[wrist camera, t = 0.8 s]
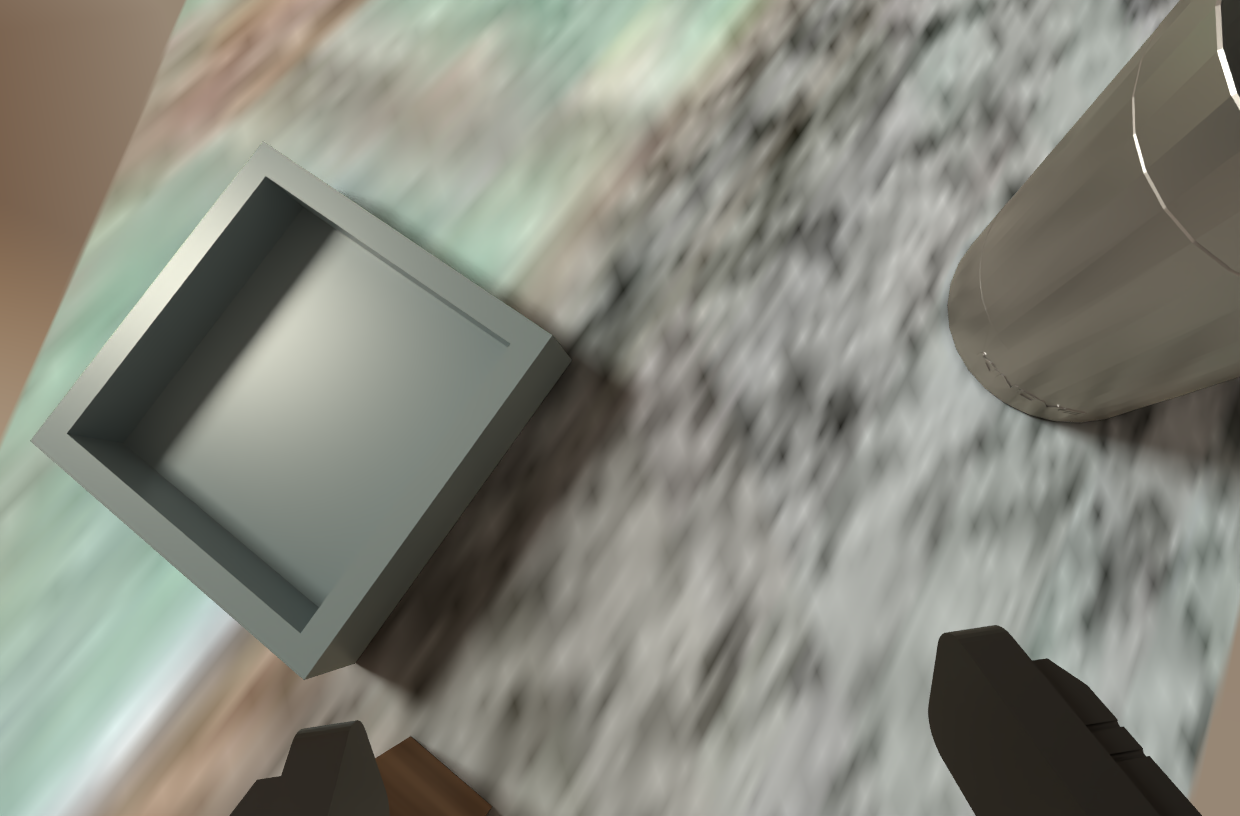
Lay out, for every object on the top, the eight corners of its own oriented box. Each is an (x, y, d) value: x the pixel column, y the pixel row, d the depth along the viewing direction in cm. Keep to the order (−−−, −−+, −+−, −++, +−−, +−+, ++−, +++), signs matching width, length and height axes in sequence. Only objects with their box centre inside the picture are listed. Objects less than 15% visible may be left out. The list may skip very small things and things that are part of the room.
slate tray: (312, 184, 36) (263, 141, 32) (572, 360, 33) (552, 335, 29) (106, 452, 35) (29, 440, 31) (354, 663, 32) (303, 679, 28)
